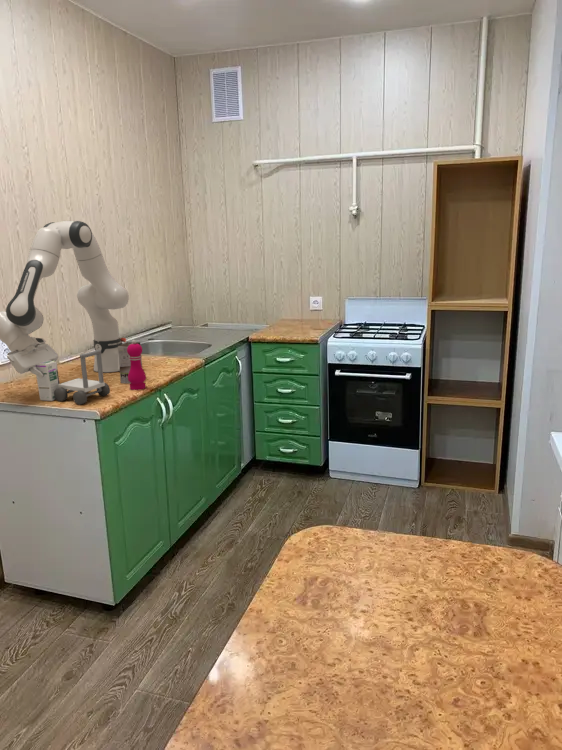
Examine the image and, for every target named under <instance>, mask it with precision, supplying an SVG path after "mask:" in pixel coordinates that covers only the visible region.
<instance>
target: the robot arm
mask: <svg viewBox="0 0 562 750" xmlns="http://www.w3.org/2000/svg"><path fill="white" fill-rule="evenodd" d="M68 249H72V251H73V253H74V258H75V260H76V263H77V266H78V270H79V271H80V274H81V276H82V277H83V278H84V279H85V280H86V281H88V282H89V284H85V285H84V284H83V285H82V286H80V287H79V288H78V290H77V295H76V297H77V301H78V303H79V304H80V305H81V306H82V307H83V308H84V309H85V310H86V312H87V314H88V316H89V319H90V321H91V325H92V331H93V347H94V351H96V350H101V359H102V369H103V373H114V372H120V367H119V354H118V346H119V345H122V344H123V343H126V342H127V339H126V337H120V331H119V322H118V320H117V318H115V317H114V316H113V315H112V313H111V312H110V310H120V309H123V308H125V307H126V306H127V305H128V303H129V300H130V297H129V292H128V290H127V289H126V288H125V287H124V286H123V285H121V284H120V283H118V281H117V280H116V279H115V278H114V276H113V275H112V274H111V273H110V270H109V269H108V267H107V264H106V262H105V259H104V257H103V253H102V249H101V247H100V245H99V243H98V241H97V239H96V236H95V235H94V233H93V232H92V229H91V228H90V226H89V225H88V224H87V223H86V222H84V221H80V220H74V221H72V220H63V221H56V222H49V223H46V224H44V225H43V226H42V227H41V228H39V229H38V230H37V231H36V234H35V236H34V237H33V239H32V243H31V246H30V249H29V252H28V255H27V261H26V264H25V267H24V269H23V272H22V274H21V276H20V281H19V283H18V286H17V288H16V291H15V293H14V296H13V297H12V298H11V300H9V302H8V304H7V306H6V309H5V310H4V311H0V341H1V342H2V343H3V344H4V345H6V346H7V349H8V351H9V352H7V355H6V358H7V359H8V361H9V362H10V365H11V366H12V368H14V369H15V371H16V372H17V373H18V374H20V375H21V374H25V373H28V372H30V373H31V374H33V375H35V376H36V375H37V376H38V377H39V378H42V377H44V375H45V374H44V373H43V372H42V371H41V372H40V371H39V370H37V368H36V367H35V366H36V365H38V363H41V362H45V361H56V362H57V360H58V359H59V354H58V353H57V352H56V351H55V350H54V349H53V347H52V346H51V345H50V344H48V343H46V342H47V341H46V340H45V339H44V338H43V337H34V336H30V334H32V333H34V332H35V331H37V330H39V329H40V328H41V327H42V325H43V323H44V315H43V313H42V312H41V310H39V308H37V306H36V305H35V297H36V293H37V290H38V287H39V283H40V282H41V280H42V279H44V278H48V277H49V278H50V277H51V276H53V275H54V274H55V272H56V270H57V267H58V266H59V261H60V256H61V251H62V250H68ZM93 372H96V373H98V366H97V356H96V355H94V363H93Z"/></svg>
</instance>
